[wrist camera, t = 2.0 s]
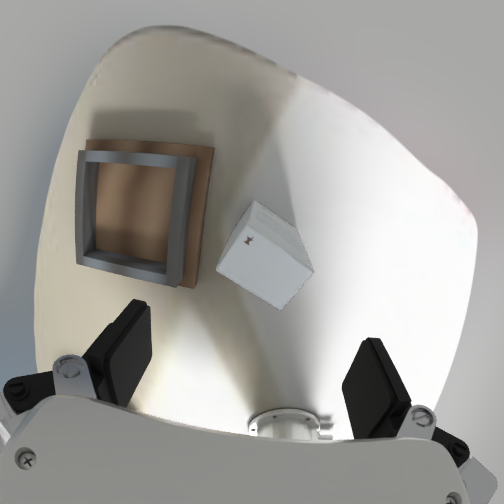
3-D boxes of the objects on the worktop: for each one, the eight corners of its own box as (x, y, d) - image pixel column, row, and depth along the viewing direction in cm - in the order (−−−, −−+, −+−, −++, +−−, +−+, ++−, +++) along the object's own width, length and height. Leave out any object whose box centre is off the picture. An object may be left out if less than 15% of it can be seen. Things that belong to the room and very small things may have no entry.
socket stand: (214, 148, 28) (205, 145, 24) (196, 283, 33) (187, 300, 29) (93, 140, 28) (71, 139, 24) (88, 259, 33) (69, 271, 29)
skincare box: (232, 229, 31) (211, 269, 20) (254, 198, 30) (245, 220, 18) (276, 259, 32) (280, 313, 20) (299, 230, 31) (316, 270, 19)
